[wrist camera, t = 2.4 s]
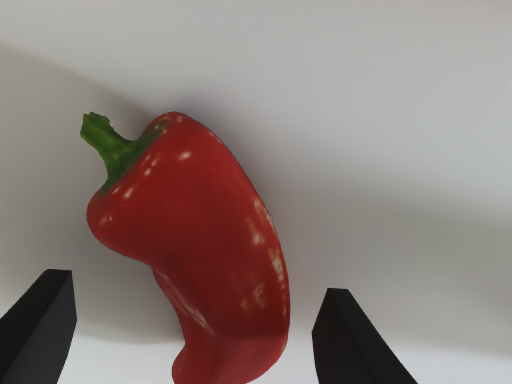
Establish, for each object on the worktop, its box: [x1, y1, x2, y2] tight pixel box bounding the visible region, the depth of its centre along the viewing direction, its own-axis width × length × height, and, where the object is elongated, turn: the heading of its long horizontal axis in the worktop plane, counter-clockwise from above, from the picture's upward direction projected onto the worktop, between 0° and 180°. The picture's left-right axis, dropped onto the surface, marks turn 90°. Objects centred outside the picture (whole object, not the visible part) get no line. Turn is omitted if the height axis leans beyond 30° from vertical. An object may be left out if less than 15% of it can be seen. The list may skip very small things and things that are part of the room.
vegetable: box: [80, 112, 290, 384], centre depth 13 cm, size 4×5×12 cm
